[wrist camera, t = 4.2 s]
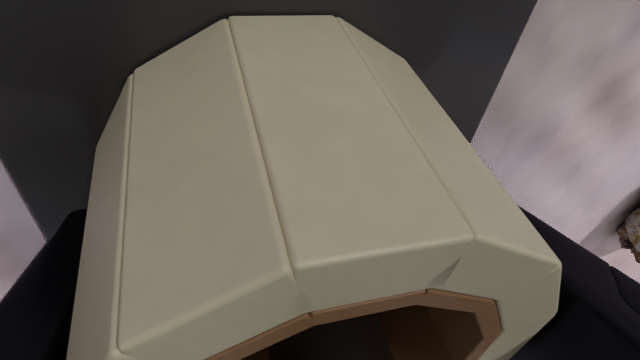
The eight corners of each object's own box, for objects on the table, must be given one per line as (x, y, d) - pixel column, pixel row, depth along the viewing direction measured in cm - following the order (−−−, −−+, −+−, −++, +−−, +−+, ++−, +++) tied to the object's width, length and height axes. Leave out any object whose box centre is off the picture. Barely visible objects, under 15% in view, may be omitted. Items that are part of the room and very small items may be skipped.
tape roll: (383, 237, 13) (461, 407, 9) (139, 275, 11) (132, 501, 8) (462, 12, 8) (674, 203, 5) (49, 15, 6) (-68, 329, 3)
